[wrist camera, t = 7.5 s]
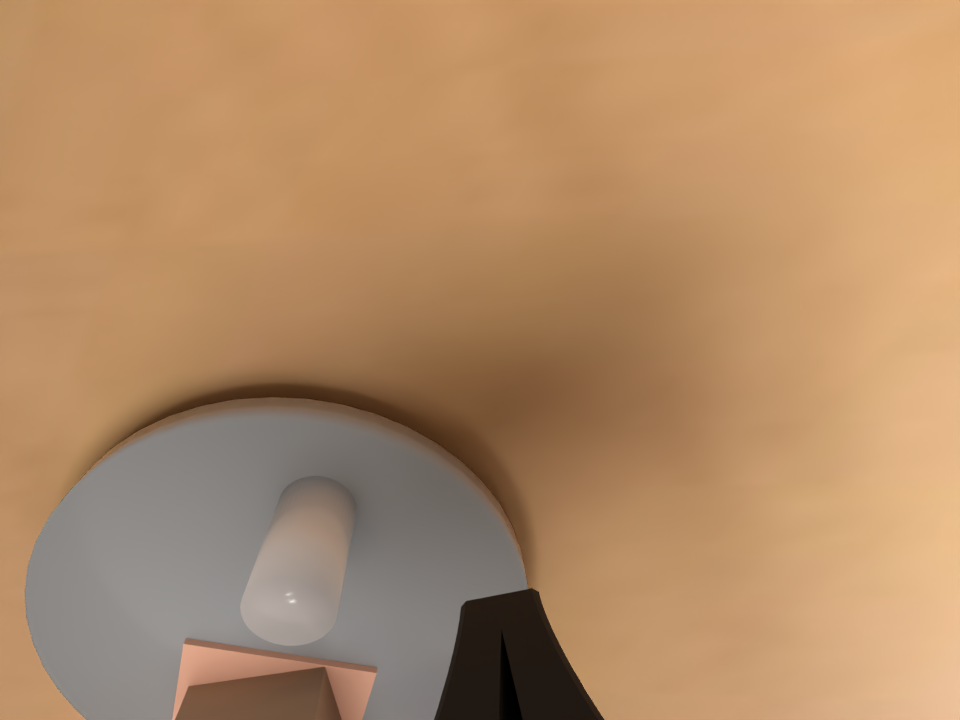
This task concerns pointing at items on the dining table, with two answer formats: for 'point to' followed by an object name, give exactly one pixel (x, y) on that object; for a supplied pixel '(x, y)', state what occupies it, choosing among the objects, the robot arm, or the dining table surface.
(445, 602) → the turntable
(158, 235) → the dining table surface
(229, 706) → the walnut block
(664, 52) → the dining table surface
